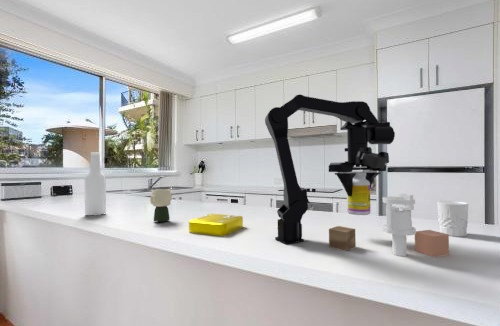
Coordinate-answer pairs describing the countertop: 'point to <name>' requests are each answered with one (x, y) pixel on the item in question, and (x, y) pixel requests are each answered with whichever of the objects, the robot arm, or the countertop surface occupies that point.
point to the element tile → (216, 224)
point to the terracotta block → (432, 243)
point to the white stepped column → (399, 221)
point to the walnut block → (342, 238)
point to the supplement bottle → (359, 195)
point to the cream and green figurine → (161, 204)
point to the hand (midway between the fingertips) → (358, 195)
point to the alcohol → (95, 187)
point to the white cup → (453, 217)
